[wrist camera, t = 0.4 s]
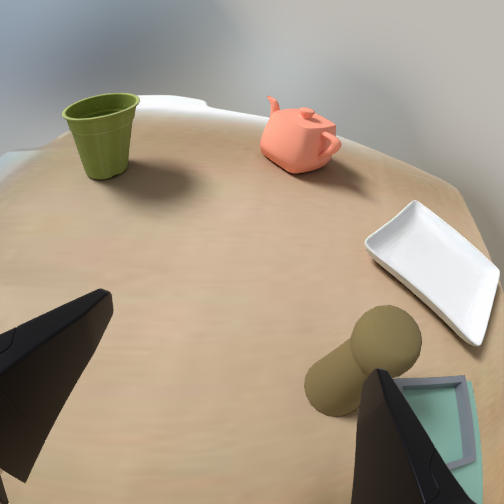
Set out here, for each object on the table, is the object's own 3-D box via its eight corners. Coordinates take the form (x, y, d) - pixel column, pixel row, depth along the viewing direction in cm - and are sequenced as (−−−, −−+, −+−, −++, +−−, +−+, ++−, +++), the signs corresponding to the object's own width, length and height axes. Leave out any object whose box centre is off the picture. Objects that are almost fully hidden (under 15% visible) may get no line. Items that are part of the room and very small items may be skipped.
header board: (480, 514, 13) (490, 512, 12) (379, 554, 12) (389, 557, 11) (469, 379, 26) (478, 373, 25) (379, 384, 25) (388, 378, 24)
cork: (367, 368, 26) (433, 307, 18) (356, 423, 22) (434, 381, 14) (313, 349, 27) (364, 279, 19) (296, 405, 23) (353, 355, 15)
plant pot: (136, 147, 48) (136, 88, 40) (146, 181, 41) (144, 110, 33) (74, 158, 43) (66, 100, 35) (70, 196, 36) (56, 126, 28)
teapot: (305, 191, 46) (324, 133, 38) (237, 142, 54) (245, 92, 47) (345, 176, 52) (363, 128, 45) (279, 134, 60) (289, 90, 53)
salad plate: (351, 258, 37) (362, 239, 35) (407, 211, 49) (416, 196, 47) (464, 362, 28) (482, 348, 26) (490, 282, 40) (501, 270, 37)
